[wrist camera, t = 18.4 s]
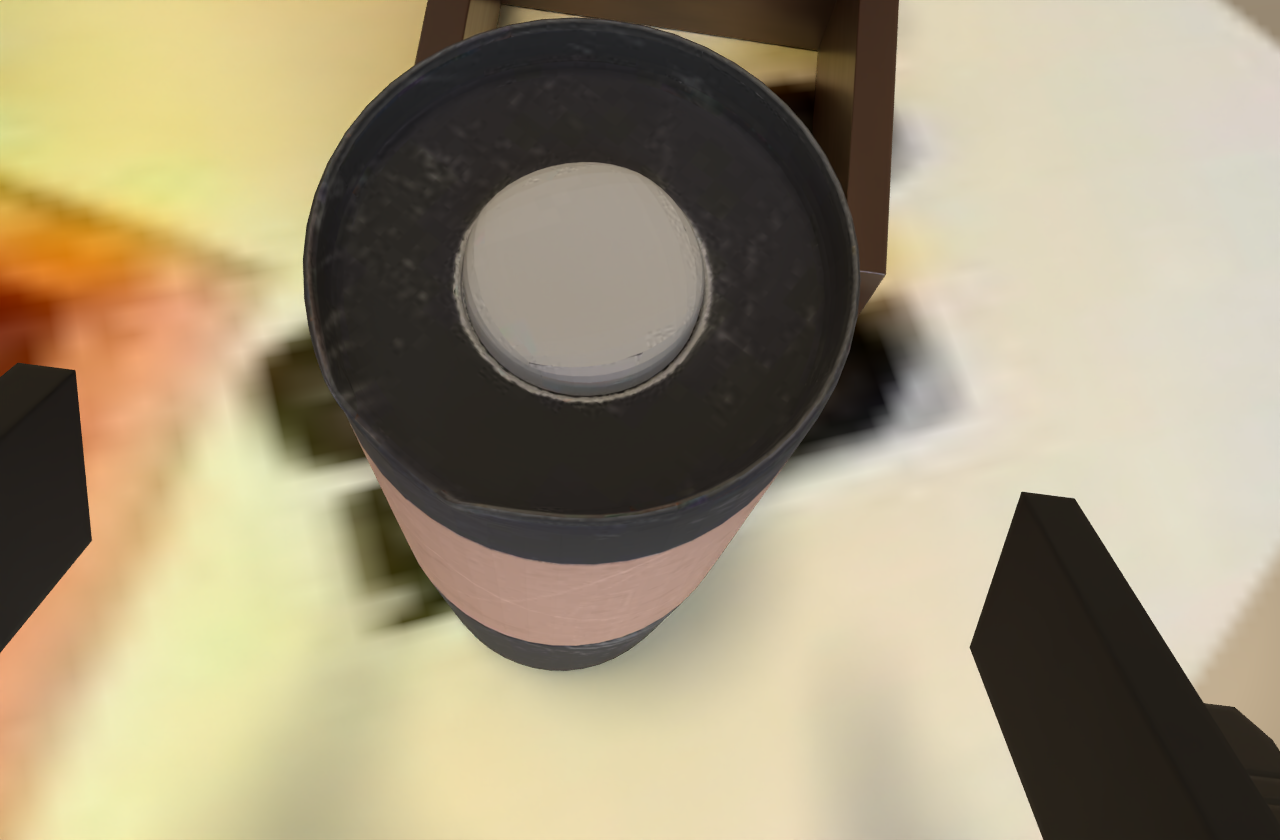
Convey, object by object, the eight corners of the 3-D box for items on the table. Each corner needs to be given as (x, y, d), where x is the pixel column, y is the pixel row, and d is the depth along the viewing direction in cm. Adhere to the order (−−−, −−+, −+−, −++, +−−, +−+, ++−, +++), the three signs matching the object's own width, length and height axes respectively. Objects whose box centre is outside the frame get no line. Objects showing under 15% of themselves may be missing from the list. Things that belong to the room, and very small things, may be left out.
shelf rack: (409, 297, 36) (343, 47, 24) (472, -32, 40) (443, -389, 28) (832, 354, 37) (977, 139, 25) (853, 25, 41) (986, -300, 29)
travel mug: (679, 423, 36) (839, 5, 17) (698, 674, 33) (908, 523, 14) (430, 432, 35) (298, 5, 16) (432, 688, 32) (279, 550, 13)
